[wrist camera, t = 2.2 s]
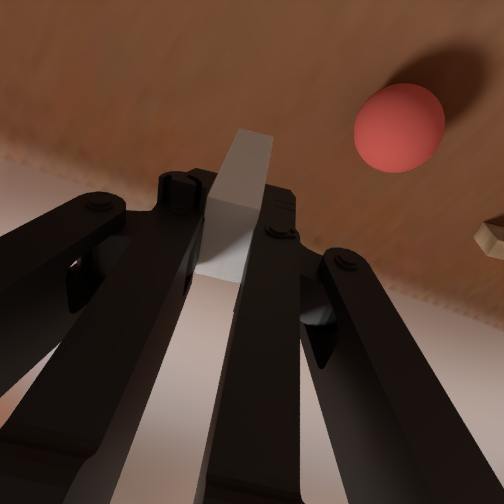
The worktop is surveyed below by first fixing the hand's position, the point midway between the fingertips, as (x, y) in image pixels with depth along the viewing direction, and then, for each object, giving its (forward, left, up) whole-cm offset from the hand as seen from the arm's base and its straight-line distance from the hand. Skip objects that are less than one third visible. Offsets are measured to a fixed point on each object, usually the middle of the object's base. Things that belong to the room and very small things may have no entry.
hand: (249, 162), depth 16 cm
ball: (0, +9, -12) cm, 15 cm away
